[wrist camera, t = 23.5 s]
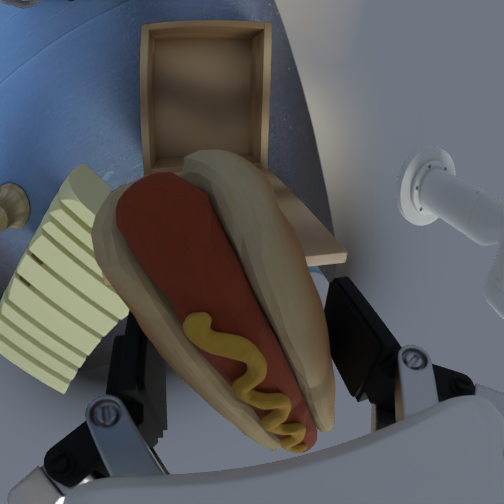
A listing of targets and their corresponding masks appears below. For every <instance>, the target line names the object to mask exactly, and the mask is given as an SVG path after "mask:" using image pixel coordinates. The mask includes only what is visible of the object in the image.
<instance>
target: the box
mask: <svg viewBox="0 0 504 504" xmlns="http://www.w3.org/2000/svg"><path fill="white" fill-rule="evenodd" d="M271 44H272V23H268V22H256V21H240V20H186V21H171V22H160V23H150V24H142V25H141V44H140V117H141V138H142V154H143V166H144V175H151V174H154V173H157V172H172V173H175V172H182V169H183V166H184V157H186V156H188V155H190V154H192V153H194V152H196V151H198V150H225V151H229V152H232V153H235V154H237V155H239V156H241V157H243V158H245V159H246V160H248V161H249V162H251V163H252V164H253V165H255V166H256V167H257V168H267V160H268V135H269V107H270V78H271Z"/></svg>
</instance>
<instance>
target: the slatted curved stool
mask: <svg viewBox="0 0 504 504" xmlns="http://www.w3.org/2000/svg"><path fill="white" fill-rule="evenodd" d="M109 194H110V186H109V185H108V184H107V183H106V182H105V181H104V180H102V179H101V178H100V177H99V176H98V175H97V174H96V173H95V172H94V171H93V170H92V169H91V168H90V167H88V166H87V165H86V164H85V163H82V164H81V165H79V166H78V167H77V168H75V169H74V170H72V171H71V172H70V174H69V175H68V177H67V178H66V179H65V181H64V182H63V184H62V185H61V187H60V189H59V192H58V193H57V195H56V196H55V198H54V199H53V201H52V202H51V204H50V207H49V209H48V210H47V212H46V214H45V215H44V217H43V219H42V222H41V224H40V225H39V227H38V229H37V230H36V232H35V234H34V236H33V237H32V239H31V241H30V243H29V245H28V246H27V248H26V250H25V252H24V254H23V256H22V258H21V260H20V262H19V264H18V266H17V268H16V270H15V272H14V274H13V276H12V278H11V280H10V283H9V285H8V287H7V288H6V290H5V292H4V294H3V297H2V299H1V301H0V354H1V355H3V356H4V357H6V358H7V359H8V360H10V361H11V362H13V363H14V364H15V365H17V366H18V367H20V368H22V369H23V370H25V371H26V372H28V373H29V374H31V375H32V376H34V377H35V378H37V379H39V380H40V381H42V382H44V383H45V384H47V385H49V386H50V387H52V388H54V389H56V390H57V391H59V392H61V393H63V394H64V393H65V392H66V390H67V388H68V386H69V384H70V380H73V378H74V376H75V375H76V373H77V371H78V367H79V368H80V367H81V366H82V364H83V363H84V361H85V360H86V356H87V355H90V353H91V352H92V351H93V349H94V348H95V347H96V346H97V344H98V343H99V342H100V341H101V338H102V336H105V335H106V334H107V333H108V332H109V331H110V330H111V329H112V328H113V327H114V326H115V325H116V324H118V320H119V319H120V320H122V319H123V318H125V317H126V316H127V315H128V314H129V308H128V307H127V306H126V304H125V303H124V302H123V301H122V299H121V298H120V297H119V295H118V294H117V292H116V291H115V290H114V288H113V287H112V285H111V284H107V285H106V284H105V282H104V279H103V276H102V270H101V269H100V268H99V266H98V264H97V262H96V260H95V255H94V249H93V243H92V237H91V231H92V227H93V223H94V219H95V216H96V214H97V212H98V211H99V209H100V207H101V206H102V204H103V202H104V201H105V200H106V198H107V197H108V195H109Z"/></svg>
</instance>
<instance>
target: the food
mask: <svg viewBox="0 0 504 504" xmlns="http://www.w3.org/2000/svg"><path fill="white" fill-rule="evenodd" d="M91 237H92V243H93V249H94V255H95V260H96V262H97V264H98V266H99V268H100V269H101V270H102V272H103V273H104V275H105V277H106V278H107V280H108V281H109V282H110V284H111V285H112V287H113V288H114V290H115V291H116V292H117V294H118V295H119V297H120V298H121V299H122V301H123V302H124V303H125V304H126V306H127V307H128V308H129V310H130V311H131V312H132V313H133V315H134V316H135V318H136V320H137V322H138V324H139V326H140V328H141V329H142V331H143V332H144V333H145V335H146V336H147V337H148V338H149V340H150V341H151V342H152V343H153V345H154V346H155V348H156V349H157V351H158V352H159V354H160V355H161V357H162V358H163V359H164V360H165V361H166V362H167V363H168V365H170V367H171V368H172V369H173V370H174V371H175V372H176V373H177V374H178V375H179V376H180V377H181V378H182V379H183V380H184V381H185V382H186V383H187V384H188V385H189V386H190V387H191V388H192V389H193V390H194V391H196V392H197V393H198V394H199V395H200V396H201V397H202V398H203V399H204V400H205V401H206V402H207V403H208V404H209V405H210V406H212V407H213V408H214V409H215V410H216V411H217V412H218V413H220V414H221V415H222V416H223V417H225V418H226V419H227V420H229V421H230V422H232V423H233V424H234V425H235V426H236V427H238V429H239V430H240V431H241V432H242V433H244V435H245V436H247V437H249V438H251V439H253V440H254V441H256V442H257V443H259V444H261V445H263V446H264V447H265V448H267V449H269V450H271V451H274V450H277V449H279V448H281V446H282V448H284V449H285V450H287V451H290V452H296V453H300V452H305V451H307V450H309V449H311V447H312V446H314V444H315V442H316V440H317V430H316V428H317V429H319V430H320V431H321V432H328V431H331V430H332V429H333V425H334V422H335V420H334V419H335V417H334V416H335V412H334V401H335V378H334V372H333V365H332V359H331V351H330V341H329V334H328V327H327V322H326V318H325V313H324V309H323V305H322V302H321V299H320V296H319V293H318V291H317V289H316V286H315V284H314V282H313V279H312V277H311V275H310V272H309V269H308V265H307V262H306V258H305V254H304V251H303V248H302V246H301V244H300V241H299V239H298V237H297V235H296V233H295V230H294V228H293V227H292V225H291V224H290V222H289V221H288V219H287V218H286V217H285V215H284V214H283V212H282V211H281V209H280V208H279V205H278V202H277V199H276V196H275V193H274V190H273V187H272V184H271V183H270V181H269V179H268V178H267V176H266V175H265V174H264V173H263V172H262V171H260V170H259V169H258V168H257V167H256V166H255V165H253V164H252V163H251V162H249V161H248V160H246V159H245V158H243V157H241V156H239V155H237V154H235V153H232V152H229V151H225V150H198V151H196V152H194V153H192V154H190V155H188V156H186V157H184V166H183V169H182V172H181V174H180V177H179V176H178V175H176V174H174V173H172V172H157V173H154V174H151V175H148V176H145V177H143V178H141V179H138V180H136V181H134V182H131V183H129V184H125V185H120V186H119V187H118V188H116V189H115V190H114V191H113V192H111V193H110V194H109V195H108V197H107V198H106V200H105V201H104V202H103V204H102V206H101V207H100V209H99V211H98V212H97V214H96V216H95V219H94V223H93V227H92V231H91Z"/></svg>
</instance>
